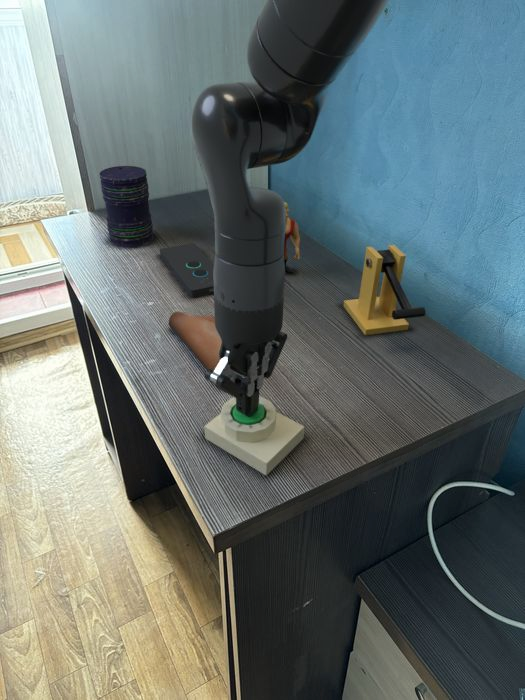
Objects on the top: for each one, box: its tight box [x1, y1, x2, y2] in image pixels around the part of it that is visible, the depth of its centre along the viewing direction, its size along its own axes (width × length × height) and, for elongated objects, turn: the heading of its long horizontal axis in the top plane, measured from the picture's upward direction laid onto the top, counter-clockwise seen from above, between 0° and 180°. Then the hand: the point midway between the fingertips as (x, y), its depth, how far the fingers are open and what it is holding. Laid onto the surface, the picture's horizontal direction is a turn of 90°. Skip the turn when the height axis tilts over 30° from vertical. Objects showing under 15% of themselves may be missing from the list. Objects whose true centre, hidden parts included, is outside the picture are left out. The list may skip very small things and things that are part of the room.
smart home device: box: [159, 242, 214, 298], centre depth 105 cm, size 8×2×20 cm
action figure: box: [284, 201, 301, 274], centre depth 101 cm, size 10×4×15 cm, turn 123°
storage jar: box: [99, 165, 154, 249], centre depth 113 cm, size 10×10×15 cm
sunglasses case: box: [168, 311, 231, 376], centre depth 82 cm, size 18×7×7 cm, turn 32°
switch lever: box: [376, 249, 426, 320], centre depth 83 cm, size 13×5×2 cm, turn 14°
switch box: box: [204, 395, 305, 476], centre depth 66 cm, size 10×8×4 cm
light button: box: [233, 404, 264, 425], centre depth 66 cm, size 4×4×2 cm
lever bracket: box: [343, 244, 410, 336], centre depth 89 cm, size 10×8×13 cm
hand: (247, 411), depth 65 cm, fingers closed
